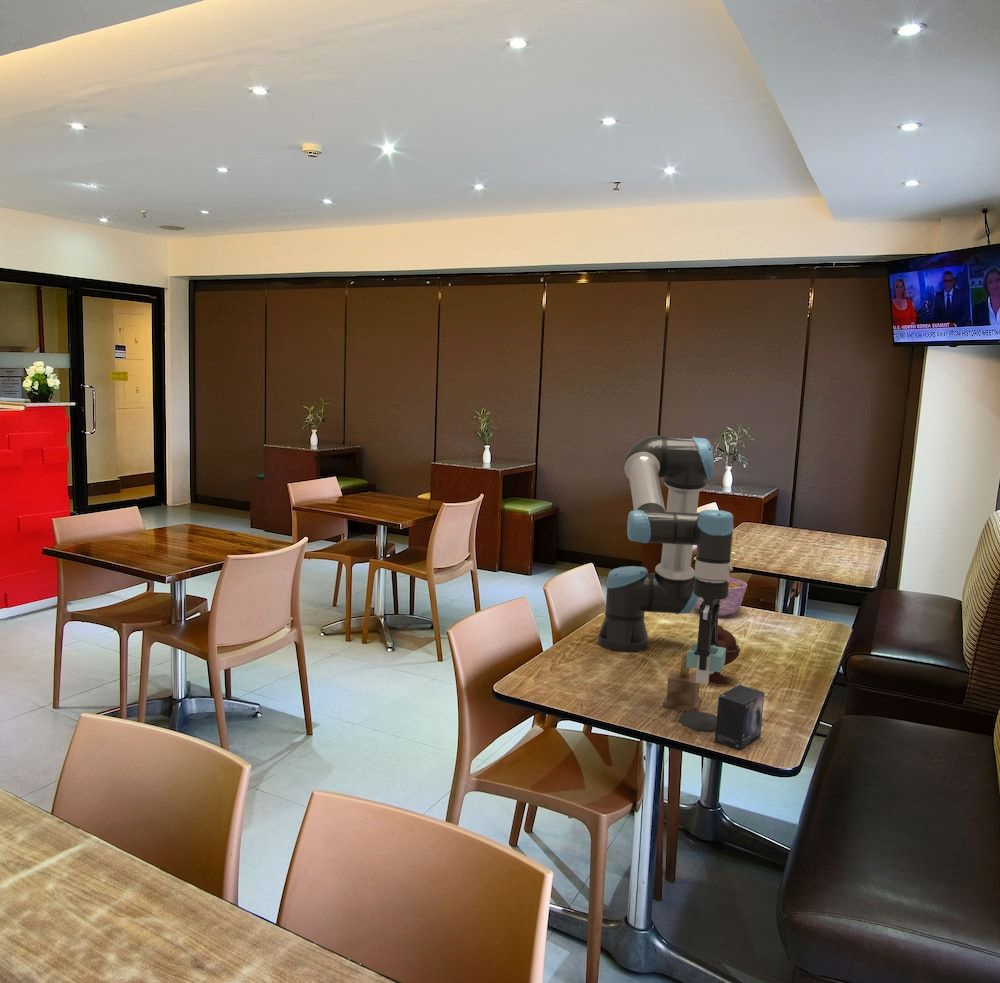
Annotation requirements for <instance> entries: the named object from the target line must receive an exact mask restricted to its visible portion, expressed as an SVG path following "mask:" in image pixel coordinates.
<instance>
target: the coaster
mask: <svg viewBox="0 0 1000 983" xmlns="http://www.w3.org/2000/svg"><path fill="white" fill-rule="evenodd" d="M678 721H679V722H680V723H681V725H683V726H684V727H687V728H689V729H691V730H695V731H700V732H715V730H716V721H717V714H716V715H715V714H713V713H709V712H706V711H690V712H688V711H684V712H682V713H681V714H680V715H679V717H678Z"/></svg>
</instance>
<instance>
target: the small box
mask: <svg viewBox="0 0 1000 983" xmlns="http://www.w3.org/2000/svg"><path fill="white" fill-rule="evenodd" d="M764 698H765V692H764V691H761V690H758V689H755V688H751V687H748V686H745V685H742V684H738V685H736V686H735V687H733V688H730V689H728V690H727V691H725V692H722V693H721V694H719V695H718V700H717V711H716V716H717V721H716V730H715V731H714V732H715V733H714V740H713V741H714V742H716V743H719V744H721V745H725V746H727V747H731V748H733V749H736V750H742V749H744V748H746V747H747V746H748V745H749V744H751V743H753V742H754V741H756V740H758V739H759V738H761V735H762V722H763V712H764V710H763V709H764V702H765V699H764Z"/></svg>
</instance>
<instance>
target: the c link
mask: <svg viewBox="0 0 1000 983" xmlns="http://www.w3.org/2000/svg"><path fill="white" fill-rule="evenodd" d="M696 650H697V643H695V642H692V643H691V649H688V650H687V651H686V653H687V664H686V667H689V668H692V669H697V655H696V654H694V651H696ZM702 650H704V649H702ZM725 655H726V648H723V647H716V646H710V668H709V671H715V672H720V673H721V672H722V670H723V668H724V664H725Z"/></svg>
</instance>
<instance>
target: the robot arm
mask: <svg viewBox="0 0 1000 983" xmlns="http://www.w3.org/2000/svg"><path fill="white" fill-rule="evenodd" d="M714 465H715V464H714V452H713V447H712V444H711V442H710V441H709V440H708V439H707V438H704V437H703V438H702V437H695V436H668V435H667V436H665V435H664V436H663V435H652V436H647V437H644V438H643V439H641V440H639V441H637V442H636V443H635V444H633V445H632V446H631V447H630V449H629V450H628V451H627V453H626V455H625V458H624V461H623V468H624V474H625V476H626V477H627V479H628V480H629V486H630V492H631V498H632V506H633V510H631V511H629V513H628V516H627V524H626V526H627V528H626V529H627V535H626V536H627V539H628V540H629V541H631V542H634V543H635V542H636V543H642V544H662V550H661V559H660V561H661V562H660V563H658V564H657V565H656V566H655V569H654V572H648V569H647V568H646V567H644V566H635V565H632V566H631V565H630V566H627V565H626V566H620V567H617V568H613V569H612V570H610V571H609V573H608V574H607V579H606V580H607V581H606V585H605V587H606V597H605V612H604V613H605V614H604V619H603V622H602V625H601V626H600V629H599V632H598V635H597V643H598V645H600V646H602V647H603V648H606V649H609V650H612V651H619V652H640V651H644V650H647V649H648V648H649V642H650V640H649V634H648V631H647V628H646V623H645V613H660V614H661V613H663V614H675V615H682V614H685V615H686V614H687V615H688V614H691V613H692V612H693V611H694V610H695V609H696V604H697V601H698V597H701V598H703V599H704V601H703V602H702V605H700V609H698V610H699V612H698V614H699V618H698V621H699V623H698V630H697V631H698V633H697V643H696V644H697V650H696V651H694V654H696V655H697V668H696V671H695V674H696V683H700V684H701V685H709V683H710V682H709V675H710V674H712V673H714V671H709V668H710V646H715V645H719V641H716V640H717V638H718V636H717V630H718V625H719V618H720V617H719V609H720V604H719V603H720V601H719V600H721V599H725V598H727V597H728V589H729V583H728V581H726V580H728V579H729V577H730V572H731V571H733V570H734V568H733V567H732V566H730V565H731V558H732V557H731V556H732V547H733V546H732V545H733V532H734V530H735V528H734V514H733V513H731V512H729V511H726V510H721V509H720V510H719V509H704V510H701V511H699V512H698V506H699V498H700V497H699V496H700V491H702V490H704V489H705V488H706V486H707V485H706V484H707V481H710V480H712V479H713V478H714V472H715V471H714V470H715V466H714ZM660 478H662V479H663V484H664V485H665V486H666V487H667V488H668V492H667V501H666V507H665V501H664V497H663V493H662V492H663V491H662V488H661V483H660ZM694 546H696V556H695V562H694V563H695V566H694V568H693V567H692V565H691V564H692V558H693V557H692V556H693V549H694ZM713 644H715V645H713ZM702 649H704V650H702Z"/></svg>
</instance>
